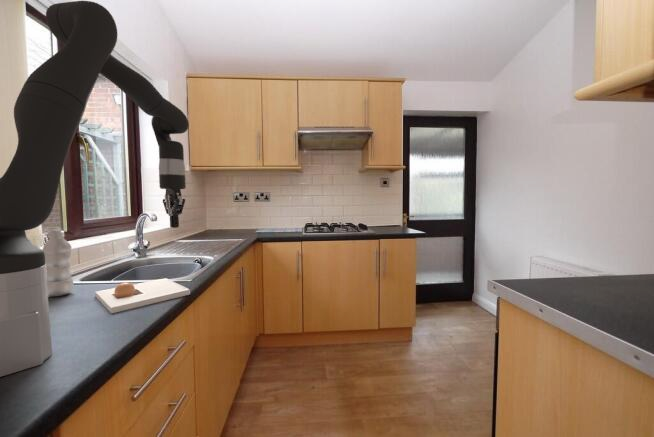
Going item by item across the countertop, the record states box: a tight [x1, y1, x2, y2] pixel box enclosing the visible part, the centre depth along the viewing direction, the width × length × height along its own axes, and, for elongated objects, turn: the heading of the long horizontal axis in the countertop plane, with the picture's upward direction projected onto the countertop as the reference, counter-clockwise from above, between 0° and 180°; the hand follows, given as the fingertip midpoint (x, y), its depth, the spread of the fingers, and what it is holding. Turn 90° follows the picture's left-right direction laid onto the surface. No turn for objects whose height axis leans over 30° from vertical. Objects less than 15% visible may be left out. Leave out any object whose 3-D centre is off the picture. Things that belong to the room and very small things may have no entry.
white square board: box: [94, 277, 191, 314], centre depth 90 cm, size 20×20×2 cm
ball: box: [114, 282, 135, 299], centre depth 86 cm, size 5×5×5 cm
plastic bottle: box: [42, 230, 75, 297], centre depth 90 cm, size 6×7×20 cm
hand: (174, 227), depth 96 cm, fingers closed
